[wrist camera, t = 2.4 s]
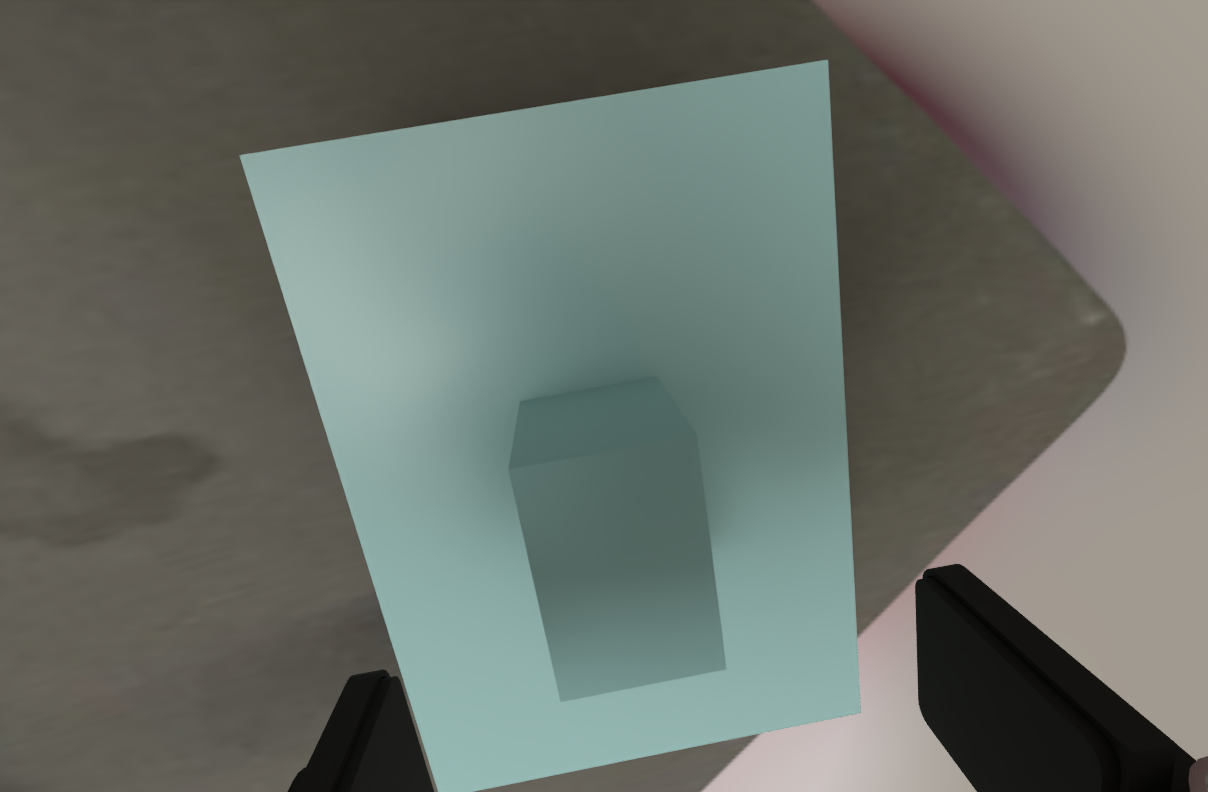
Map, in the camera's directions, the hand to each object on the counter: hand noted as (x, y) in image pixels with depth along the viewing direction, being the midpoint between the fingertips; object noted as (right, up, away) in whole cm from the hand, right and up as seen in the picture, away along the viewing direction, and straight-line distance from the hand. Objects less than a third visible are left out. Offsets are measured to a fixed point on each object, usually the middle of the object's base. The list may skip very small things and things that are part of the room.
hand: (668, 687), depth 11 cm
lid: (-1, +3, +9) cm, 9 cm away
